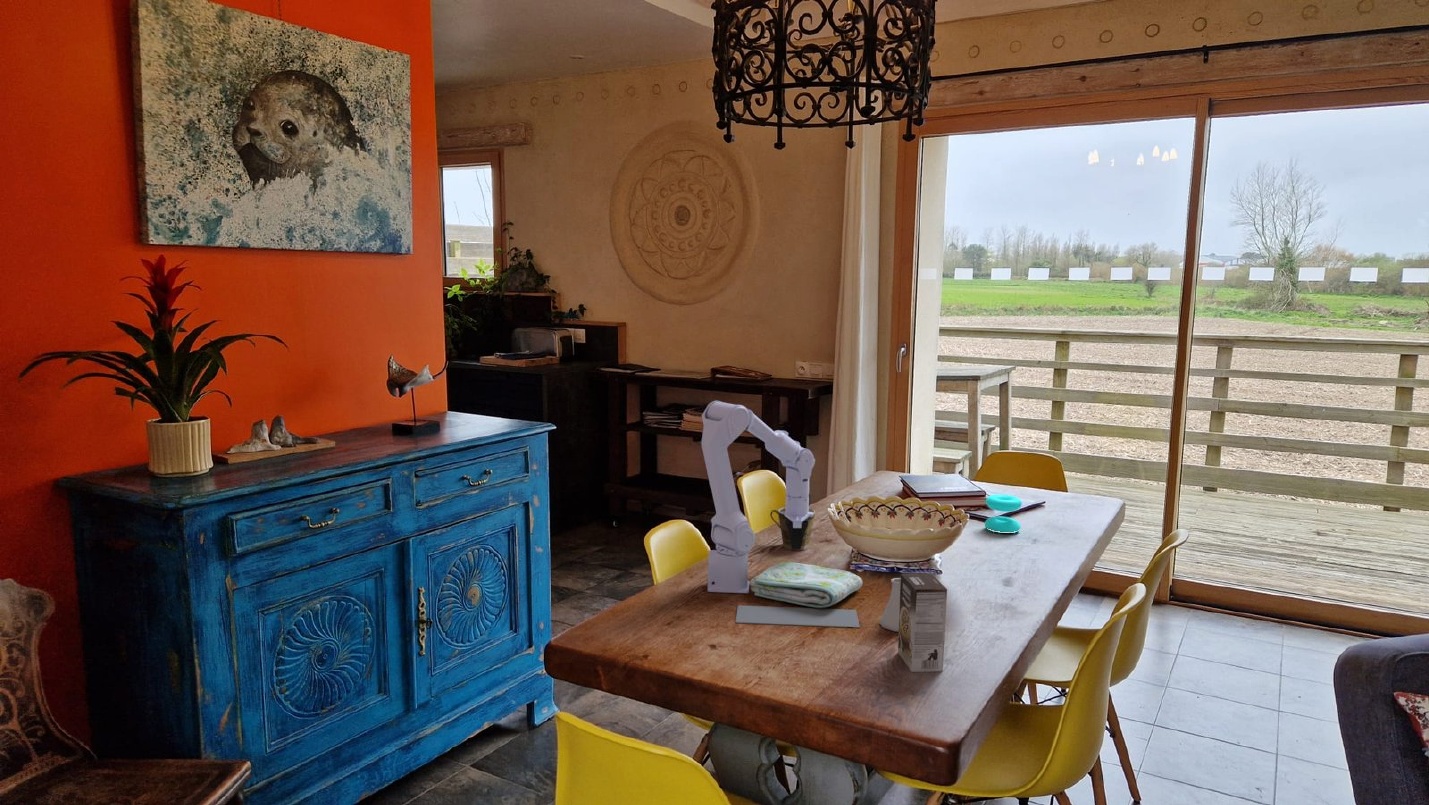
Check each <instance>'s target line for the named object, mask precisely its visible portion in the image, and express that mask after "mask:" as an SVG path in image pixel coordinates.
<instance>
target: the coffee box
mask: <svg viewBox="0 0 1429 805" xmlns="http://www.w3.org/2000/svg"><path fill="white" fill-rule="evenodd" d="M900 578H901V583H900V612H899V631H898V641H897V642H898V644H897V648H898V649H897V653H898V655H899V656H900V658H901V659H902V660H903V662H904V663H905V665H906V667H907V668H908V669H909V671H910V672H912V673H919V672H920V673H921V672H924V673H926V672H927V673H928V672H929V673H930V672H943V670H944V651H945V650H944V649H945V637H946V635H945V634H946V620H947V619H946V617H947V599H948V589H947V588H946V586H945V585H944V584H942V583H941V582H940V581H939V580H938V579H937V578H936V576H935V575H934V574H933V573H916V572H915V573H914V572H911V573H900Z"/></svg>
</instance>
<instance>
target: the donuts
mask: <svg viewBox="0 0 1429 805" xmlns="http://www.w3.org/2000/svg"><path fill="white" fill-rule="evenodd" d="M1022 503H1023V502H1022V500H1021V499H1020V498H1019V497H1017V496H1014V495H1010V494H992V495H991V494H990V495H988V497H986V500H985V504H986V505H987V506H988V508H990V509H991V510H994V511H998V512H1004V513H1005V512H1007V513H1009V512H1015V511H1018V510H1019V509H1020V508H1021V507H1022V506H1023V504H1022ZM985 527H987V528H988V529H991V530H994V531H1000V532H1014V531H1018V530H1019V529H1020V530H1021V524H1020V523H1019V521H1018V520H1016V519H1014V518H1012V517H1008V516H1000V515H999V516H991V517H989V518H987V519H986V520H985V522H984V528H985ZM1020 530H1019V531H1020ZM1019 531H1018V532H1019Z"/></svg>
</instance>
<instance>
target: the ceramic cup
mask: <svg viewBox="0 0 1429 805" xmlns="http://www.w3.org/2000/svg"><path fill="white" fill-rule="evenodd" d="M809 512H813V517H808V518H807V519H808V527H807V529H806V531H805V533H804V536H803V541H802V546H801V549H800V550H799V551H803V550H807V549H808V548H809V546H810V545H809V544H810V542H811V541H810V540H811V535H812V530H813V526H814V523H815V522H814V521H815V515H816V511H815V510H814V509H812V508H809ZM773 513H776V514H777V515H778V520H779V522H778V521H777V520H776V519H775V518H774V517H773ZM769 516H770V518H771V520H772V521H773V522H774V523H776V526H777V527H778V528H779V529H780V531H781V538H782V547H784V548H785V549H786V550H792V551H794V550H793V549H792V547H791V541H790V535H789V531H788V529H787V527H786V524H785V520H786V519H788V518H787V517H786V516H785V507H781V508H779V509H772V510H771V512H770V515H769Z"/></svg>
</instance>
